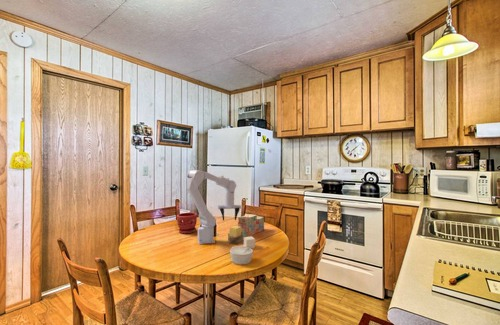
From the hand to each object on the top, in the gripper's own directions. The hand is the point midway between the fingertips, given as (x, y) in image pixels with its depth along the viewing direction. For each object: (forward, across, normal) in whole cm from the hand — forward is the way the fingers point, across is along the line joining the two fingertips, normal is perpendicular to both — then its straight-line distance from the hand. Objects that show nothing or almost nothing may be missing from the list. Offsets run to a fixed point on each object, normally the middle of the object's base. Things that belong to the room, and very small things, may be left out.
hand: (229, 219), depth 158 cm
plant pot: (+11, -27, +14) cm, 33 cm away
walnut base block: (+11, +2, -11) cm, 15 cm away
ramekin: (+11, +2, -39) cm, 41 cm away
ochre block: (+7, +2, -11) cm, 13 cm away
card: (+10, +3, -24) cm, 26 cm away
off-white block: (+10, +9, -21) cm, 25 cm away
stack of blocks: (+11, +16, +5) cm, 20 cm away
